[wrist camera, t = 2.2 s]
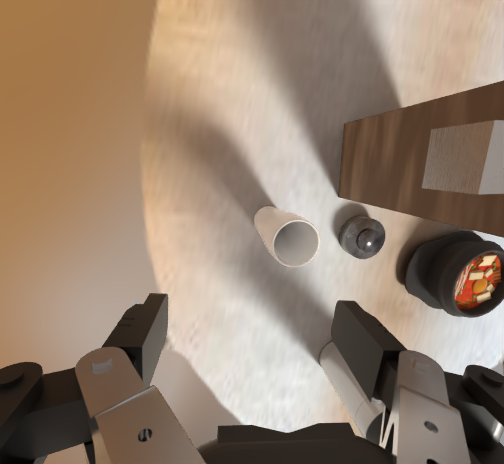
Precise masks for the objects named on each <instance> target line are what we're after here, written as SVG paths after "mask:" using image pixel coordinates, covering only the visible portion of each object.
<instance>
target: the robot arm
mask: <svg viewBox="0 0 504 464" xmlns="http://www.w3.org/2000/svg"><path fill="white" fill-rule="evenodd" d="M167 328H168V294H158V293H150V294H149V296H148V297H147V299H146V301H145V302H144V304H135V305H134V306H132V307H131V308H129V309H128V310H127V311H126V312H125V314H124V315H123V317H122V318H121V320H120V321H119V322H118V324H117V326H116V327H115V329H114V330H113V331H112V333H111V334H110V336H109V337H108V339H107V340H106V342H105V343H104V344H103V346H102V347H101V348H99V349H96V350H94V351H91V352H90V353H88V354H86V355H85V356H83V357H82V358H81V359H80V360H79V361H78V363H77V364H76V367H74V368H71V369H67V370H63V371H58V372H53V373H49V374H44V375H43V370H42V367H41V365H39V364H37V363H34V362H22V363H17V364H13V365H10V366H7V367H4V368H2V369H0V464H43V463H44V461H45V459H46V457H47V455H49V454H52V453H55V452H58V451H61V450H64V449H67V448H70V447H73V446H76V445H79V444H82V448H83V451H84V455H85V459H86V462H87V464H504V446H503V445H502V444H501V443H500V442H499V441H500V438H501V436H502V434H503V431H504V376H502V375H501V374H499V373H497V372H495V371H493V370H491V369H488V368H486V367H482V366H478V365H468V366H467V367H466V369H465V372H464V375H463V376H462V375H457V374H453V373H449V372H445V371H443V369H442V368H441V366H440V365H439V364H438V363H437V362H436V361H434V360H433V359H431V358H430V357H428V356H426V355H424V354H422V353H419V352H416V351H411V350H407V349H406V348H405V347H404V346H403V345H402V344H401V343H400V342H399V341H398V340H397V339H396V338H395V337H394V336H393V335H392V334H391V333H390V332H389V331H388V330H387V329H386V328H385V327H384V326H383V325H382V324H381V323H380V322H379V321H378V320H377V319H376V318H375V317H374V316H372V315H370V314H369V313H367V312H365V311H364V310H363V309H362V308H361V307H360V306H359V305H358V304H357V303H356V302H355V301H343V300H339V301H338V302H337V303H336V307H335V313H334V318H333V323H332V328H331V335H332V340H333V341H331V342H330V343H328V344H327V345H326V346H325V347H324V349H323V350H322V352H321V354H320V358H319V362H320V365H321V367H322V369H323V370H324V372H325V374H326V375H327V377H328V379H329V381H330V382H331V384H332V386H333V387H334V389H335V391H336V392H337V394H338V396H339V397H340V399H341V401H342V402H343V404H344V406H345V407H346V409H347V411H348V412H349V414H350V416H351V417H352V419H353V421H354V422H355V424H356V426H357V427H358V429H359V431H360V432H361V434H362V436H363V437H364V438H362V437H359V436H355V434H354V432H353V430H352V428H351V426H350V424H349V423H318V424H315V425H312V426H309V427H306V428H303V429H300V430H297V431H294V432H290V433H284V432H280V431H275V430H271V429H267V428H262V427H258V426H254V425H233V426H218V434H217V439H215V440H212V441H209V442H207V443H205V444H203V445H201V446H200V447H198V448H196V447H195V446H194V444H193V443H192V441H191V439H190V438H189V437H188V435H187V433H186V432H185V430H184V429H183V427H182V425H181V424H180V422H179V421H178V419H177V418H176V416H175V415H174V413H173V412H172V410H171V408H170V407H169V405H168V404H167V402H166V401H165V399H164V397H163V396H162V394H161V393H160V391H159V390H158V388H157V387H156V386H154V385H152V386H150V383H151V380H152V377H153V374H154V371H155V368H156V365H157V363H158V360H159V357H160V354H161V351H162V348H163V345H164V342H165V339H166V335H167ZM149 386H150V387H149Z"/></svg>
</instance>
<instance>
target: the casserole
mask: <svg viewBox="0 0 504 464" xmlns="http://www.w3.org/2000/svg"><path fill="white" fill-rule="evenodd" d="M405 288H406V290H407V291H408V293H410V294H412V295H414V296H416V297H418V298H420V299H421V300H422V301H423V302H425V303H426V304H427V305H428V306H430V307H433V308H436V309H444V310H445V311H446V312H447V313H448V314H451V315H453V316H458V317H462V316H464V317H469V318H473V317H479V316H482V315H484V314H487V313H489V312H490V311H492V310H493V309H494V308H496V307H497V306H498V305H499V304H500V303H501V302H502V301H503V299H504V250H503V249H502V248H501V247H500V245H498V244H496V243H495V242H491V241H484V240H483V239H482V238H481V237H480V236H479V235H477V234H475V233H472V232H469V231H460V232H455V233H452V234H450V235H448V236H445V237H443V238H441V239H438V240H434V241H430V242H425V243H424V244H422V245H421V246H419V247H418V249H417V250H416V251H415V252H414V254H413V255H412V257H411V259H410V261H409V263H408V266H407V269H406V273H405Z"/></svg>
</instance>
